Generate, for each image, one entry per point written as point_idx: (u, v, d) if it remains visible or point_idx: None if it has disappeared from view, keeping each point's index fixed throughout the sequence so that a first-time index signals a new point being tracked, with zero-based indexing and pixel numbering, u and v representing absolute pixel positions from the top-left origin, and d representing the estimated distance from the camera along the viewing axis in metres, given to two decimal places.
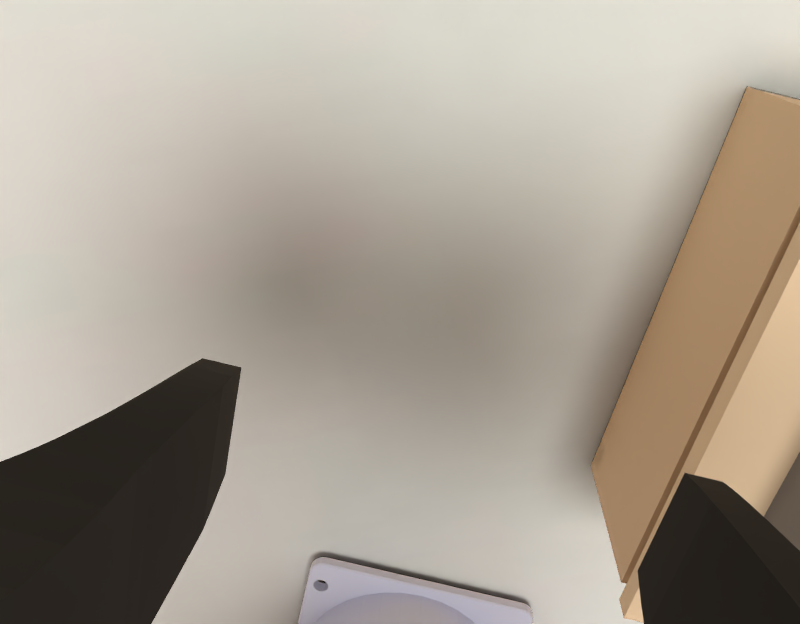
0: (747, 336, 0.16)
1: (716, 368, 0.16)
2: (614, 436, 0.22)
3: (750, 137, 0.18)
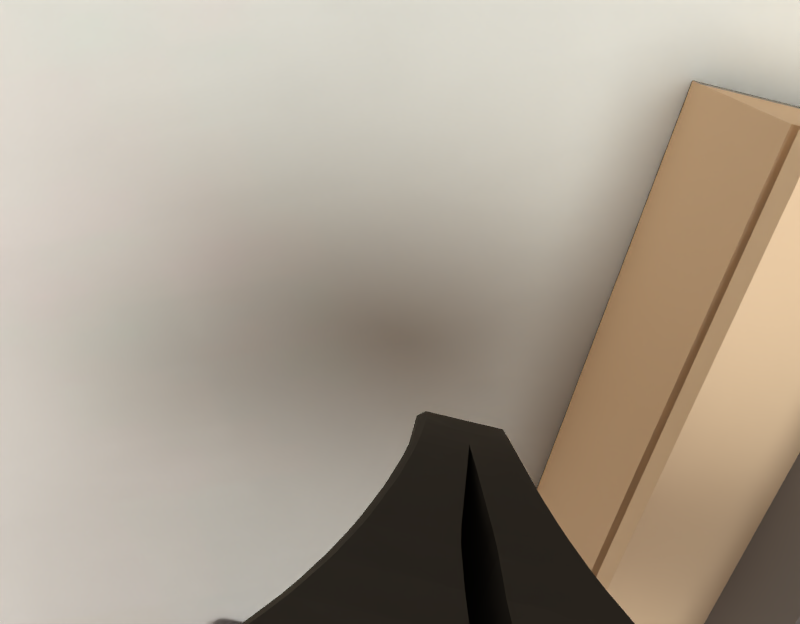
0: (679, 399, 0.12)
1: (644, 436, 0.13)
2: (545, 495, 0.19)
3: (693, 143, 0.14)
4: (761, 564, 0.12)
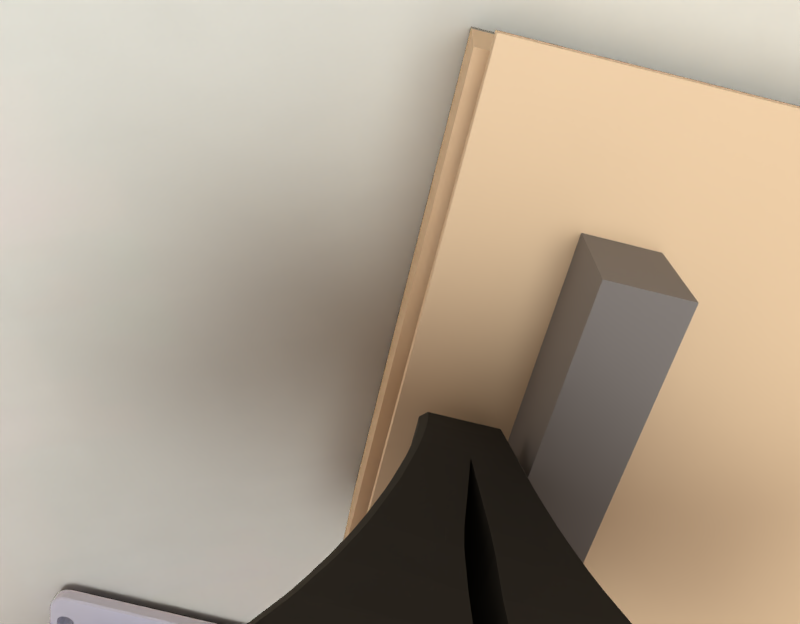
0: None
1: (388, 375, 0.13)
2: (364, 453, 0.18)
3: (457, 86, 0.14)
4: None
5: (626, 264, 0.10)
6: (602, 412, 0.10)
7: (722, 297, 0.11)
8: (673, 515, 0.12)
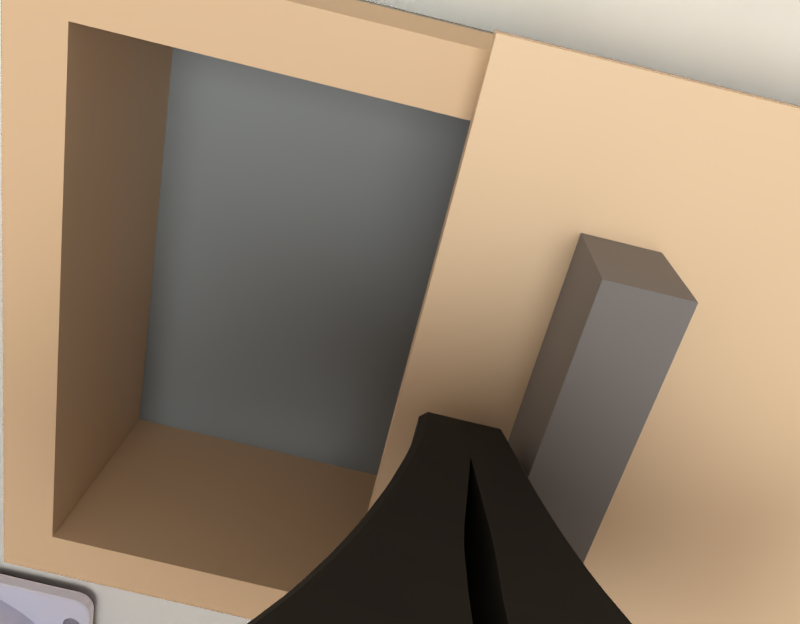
0: None
1: (10, 285, 0.13)
2: None
3: None
4: None
5: (626, 264, 0.10)
6: (602, 412, 0.10)
7: (722, 297, 0.11)
8: (673, 515, 0.12)
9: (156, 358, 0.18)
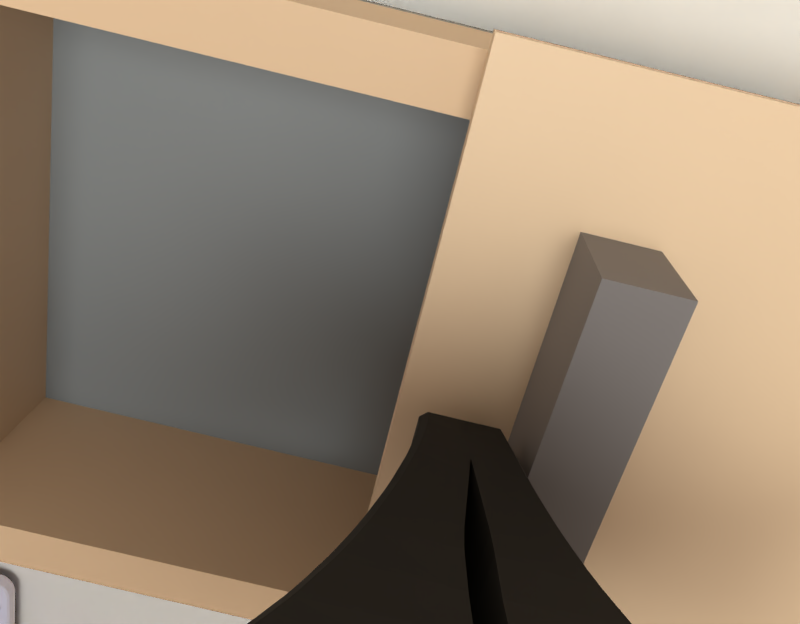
0: None
1: None
2: None
3: None
4: None
5: (626, 263, 0.10)
6: (602, 411, 0.10)
7: (722, 296, 0.11)
8: (674, 514, 0.12)
9: (58, 335, 0.18)
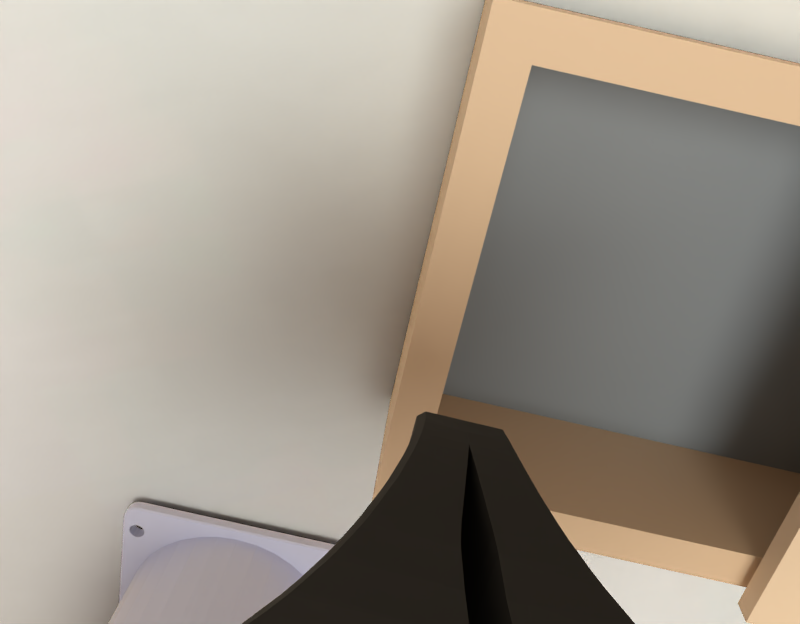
0: None
1: (427, 272, 0.16)
2: (399, 365, 0.21)
3: (477, 40, 0.17)
4: None
5: None
6: None
7: None
8: None
9: None
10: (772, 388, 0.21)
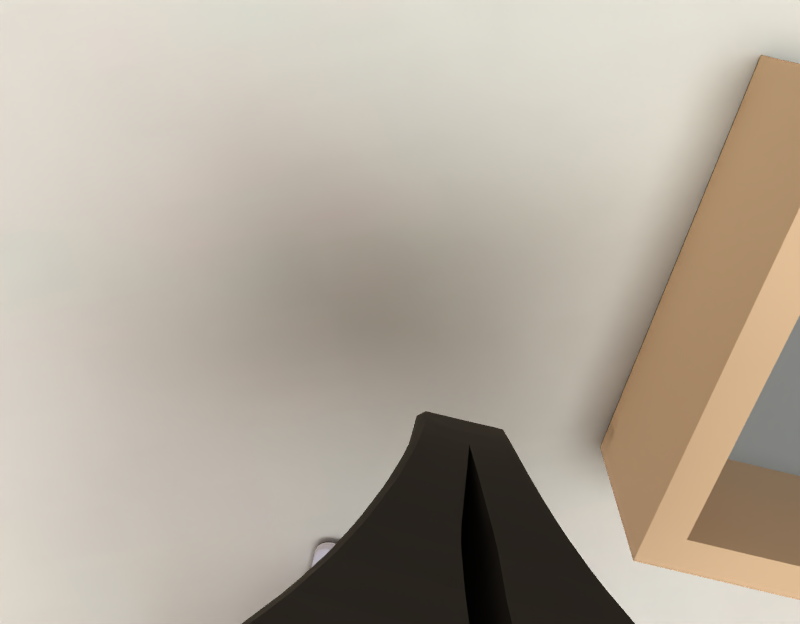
0: None
1: (731, 338, 0.16)
2: (625, 415, 0.22)
3: (765, 105, 0.17)
4: None
5: None
6: None
7: None
8: None
9: None
10: None
